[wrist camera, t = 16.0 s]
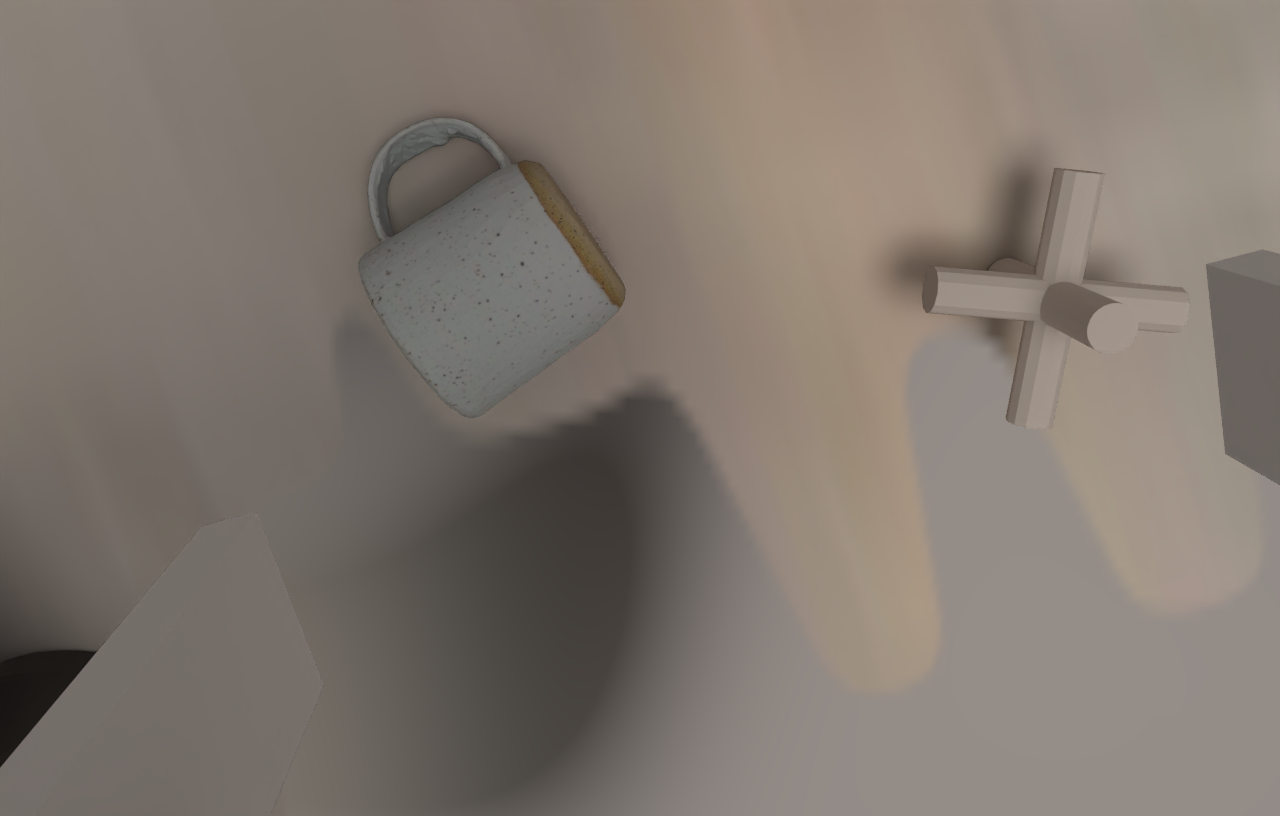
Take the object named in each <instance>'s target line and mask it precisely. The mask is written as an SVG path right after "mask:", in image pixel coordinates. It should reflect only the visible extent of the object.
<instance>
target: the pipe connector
mask: <svg viewBox="0 0 1280 816" xmlns="http://www.w3.org/2000/svg"><path fill="white" fill-rule="evenodd" d="M1104 175H1105V174H1103V173H1097V172H1090V171H1082V170H1072V169H1061V168H1054V172H1053V177H1052V183H1051V188H1050V193H1049V198H1048V203H1047V208H1046V213H1045V219H1044V224H1043V229H1042V234H1041V239H1040V244H1039V249H1038V255H1037V260H1036V265H1035V267H1033V266H1030V265H1028V264H1026V263H1023V262H1021V261H1018V260H1016V259H1012V258H1003V259H1000V260H998V261H996V262H995V263H993V264H992V265H991V266H990V268H989V270H988V271H982V270H971V269H959V268H947V267H935V266H934V267H930V268H929V270H928V272H927V273H926V276H925V280H924V283H923V291H922V302H923V308H924V310H925V312H926V313H935V314H948V315H960V316H972V317H984V318H997V319H1009V320H1021V321H1024V327H1023V332H1022V337H1021V342H1020V347H1019V352H1018V357H1017V363H1016V368H1015V373H1014V378H1013V383H1012V388H1011V393H1010V399H1009V404H1008V409H1007V414H1006V420H1007V421H1008V422H1010V423H1012V424H1014V425H1018V426H1022V427H1025V428H1031V429H1050V428H1052V426H1053V421H1054V417H1055V412H1056V407H1057V402H1058V397H1059V392H1060V388H1061V383H1062V378H1063V373H1064V368H1065V363H1066V359H1067V354H1068V349H1069V344H1070V339H1071V337H1072V338H1074V339H1076V340H1078V341H1080V342H1081V343H1083V344H1085V345H1087V346H1089V347H1091V348H1093V349H1095V350H1097V351H1099V352H1101V353H1104V354H1115V353H1118V352H1121V351H1123V350H1124V349H1126V348H1127V347H1128V346H1129V345H1130V344H1131V343H1132V342H1133V340H1134V339H1135V337H1136V334H1137V332H1138V330H1143V331H1155V332H1167V333H1176V332H1179V331H1180V330H1181V329H1182V328H1183V327H1184V326H1185V324H1186V321H1187V319H1188V316H1189V310H1190V301H1189V297H1188V293H1187V292H1186V291H1185V290H1184V289H1183V288H1181V287H1170V286H1158V285H1146V284H1134V283H1123V282H1111V281H1099V280H1088V279H1083V277H1084V272H1085V267H1086V262H1087V257H1088V253H1089V248H1090V243H1091V238H1092V233H1093V228H1094V224H1095V219H1096V214H1097V209H1098V204H1099V200H1100V195H1101V190H1102V185H1103V180H1104Z"/></svg>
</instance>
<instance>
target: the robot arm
mask: <svg viewBox="0 0 1280 816" xmlns="http://www.w3.org/2000/svg"><path fill="white" fill-rule="evenodd" d="M1206 269H1207V279H1208V289H1209V299H1210V308H1211V318H1212V328H1213V338H1214V347H1215V357H1216V367H1217V377H1218V387H1219V396H1220V406H1221V416H1222V426H1223V436H1224V445H1225V454H1227V455H1228V456H1230V457H1232V458H1234V459H1235V460H1237V461H1239V462H1241V463H1242V464H1244V465H1246V466H1247V467H1249V468H1251V469H1253V470H1254V471H1256V472H1258V473H1260V474H1261V475H1263V476H1265V477H1267V478H1268V479H1270V480H1272V481H1274V482H1276V483H1277V484H1279V485H1280V254H1278V253H1274V252H1270V251H1266V250H1259V251H1255V252H1251V253H1248V254H1244V255H1240V256H1236V257H1232V258H1228V259H1225V260H1221V261H1217V262H1213V263H1209V264H1206ZM323 687H324V685H323V683H322V680H321V678H320V675H319V672H318V670H317V667H316V664H315V662H314V659H313V657H312V654H311V652H310V649H309V646H308V644H307V641H306V639H305V636H304V633H303V631H302V628H301V626H300V623H299V620H298V618H297V615H296V613H295V610H294V608H293V605H292V603H291V600H290V597H289V595H288V592H287V589H286V587H285V584H284V582H283V579H282V577H281V574H280V571H279V569H278V566H277V564H276V561H275V558H274V556H273V553H272V551H271V548H270V545H269V543H268V540H267V538H266V535H265V533H264V530H263V527H262V525H261V522H260V520H259V517H258V514H257V512H254V513H250V514H246V515H243V516H239V517H235V518H231V519H227V520H223V521H220V522H216V523H212V524H208V525H204V526H202V527H201V528H200V529H199V530H198V532H197V533H196V534H195V535H194V536H193V538H192V539H191V540H190V541H189V542H188V543H187V545H186V546H185V547H184V548H183V549H182V551H181V552H180V553H179V554H178V555H177V557H176V558H175V559H174V560H173V561H172V563H171V564H170V565H169V566H168V567H167V569H166V570H165V571H164V572H163V573H162V575H161V576H160V577H159V578H158V579H157V581H156V582H155V583H154V584H153V585H152V587H151V588H150V589H149V590H148V591H147V593H146V594H145V595H144V596H143V597H142V599H141V600H140V601H139V602H138V603H137V605H136V606H135V607H134V608H133V609H132V611H131V612H130V613H129V614H128V615H127V617H126V618H125V619H124V620H123V621H122V623H121V624H120V625H119V626H118V627H117V629H116V630H115V631H114V632H113V633H112V635H111V636H110V637H109V638H108V639H107V641H106V642H105V643H104V644H103V645H102V646H101V648H100V649H99V650H98V651H97V652H96V654H95V653H86V652H71V651H60V652H44V653H37V654H31V655H26V656H22V657H18V658H14V659H11V660H7V661H5V662H2V663H0V816H270V815H271V812H272V810H273V807H274V805H275V802H276V800H277V798H278V795H279V793H280V790H281V788H282V786H283V783H284V781H285V778H286V776H287V773H288V771H289V769H290V766H291V764H292V761H293V759H294V756H295V754H296V751H297V749H298V747H299V744H300V742H301V740H302V737H303V735H304V732H305V730H306V728H307V725H308V723H309V720H310V718H311V715H312V713H313V711H314V708H315V706H316V703H317V701H318V699H319V696H320V694H321V691H322V689H323Z"/></svg>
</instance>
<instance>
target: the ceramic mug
mask: <svg viewBox="0 0 1280 816" xmlns="http://www.w3.org/2000/svg"><path fill="white" fill-rule="evenodd" d="M451 137H463V138H466V139H468V140H471V141H474V142H477V143H479V144H480V145H482V146H483V147H484V148H485V149H486V150H487V151H489V152H490V153H491V154H492V155H493V157H494V158H495V160H496V161H497V162H498V163H499V166H500V170H498V171H496V172H494V173H492V174H490V175H489V176H487V177H485V178H483V179H482V180H480V181H479V182H477V183H476V184H474V185H473V186H471V187H470V188H469V189H467V190H466V191H464V192H463V193H462V194H460V195H459V196H457V197H456V198H454V199H453V200H451V201H450V202H448V203H446V204H445V205H443V206H442V207H440V208H438V209H437V210H435V211H433V212H432V213H430V214H428V215H426V216H425V217H423V218H421V219H419V220H418V221H416V222H415V223H413V224H412V225H410V226H408V227H407V228H405V229H404V230H402V231H401V232H399V233H398V234H396V235H394V233H393V230H392V227H391V224H390V221H389V216H388V208H387V190H388V185H389V181H390V178H391V176H392V175H393V173H394V172H395V171H396V170H397V169H398V167H399V166H400V165H401V164H402V163H404V162H405V161H407V160H409V159H411V158H412V157H414V156H416V155H418V154H419V153H421V152H423V151H424V150H426V149H429V148H431V147H433V146H436V145H444V144H446V143H447V142H448V140H449V139H450V138H451ZM367 195H368V202H369V210H370V215H371V219H372V223H373V226H374V229H375V232H376V234H377V237H378V239H379V241H380V245H378V246H377V247H375V248H374V249H372V250H370V251H369V252H367V253H366V254H364V255H363V256H362V257H361V259H360V261H359V272H360V276H361V279H362V283H363V285H364V287H365V291H366V293H367V295H368V297H369V299H370V301H371V303H372V305H373V307H374V308H375V310H376V311H377V313H378V315H379V317H380V319H381V321H382V323H383V324H384V326H385V327H386V329H387V330H388V332H389V334H390V335H391V337H392V339H393V340H394V341H395V342H396V344H397V345H398V347H399V348H400V350H401V351H402V352H403V354H404V355H405V357H406V358H407V360H408V361H409V362H410V363H411V364H412V365H413V367H414V368H415V369H416V370H417V372H418V373H419V374H420V375H421V376H422V378H423V379H424V380H425V381H426V382H427V384H428V385H429V386H430V387H431V389H432V390H433V391H434V392H435V393H436V394H437V395H438V396H439V397H440V399H441V400H442V401H444V402H445V403H446V404H447V405H448V406H449V407H451V408H452V409H454V410H455V411H457V412H459V413H460V414H461V415H463V416H465V417H468V418H475V417H478V416H480V415H482V414H484V413H485V412H486V411H488V410H489V409H490V408H492V407H493V406H494V405H496V404H497V403H498V402H500V401H501V400H502V399H503V398H505V397H506V396H508V395H509V394H511V393H512V392H513V391H515V390H516V389H518V388H519V387H520V386H522V385H523V384H525V383H526V382H528V381H529V380H530V379H532V378H533V377H535V376H536V375H537V374H539V373H540V372H541V371H543V370H544V369H545V368H547V367H548V366H549V365H551V364H552V363H553V362H555V361H556V360H557V359H558V358H560V357H561V356H562V355H564V354H565V353H567V352H568V351H570V350H571V349H573V348H574V347H575V346H577V345H578V344H580V343H581V342H583V341H584V340H586V339H587V338H589V337H590V336H591V335H593V334H594V333H595V332H597V331H598V330H599V329H600V328H601V327H602V326H603V325H604V324H605V323H606V322H607V321H608V320H609V319H610V318H611V317H612V316H613V315H614V314H615V313H616V312H617V311H618V310H619V309H620V307H621V306H622V304H623V302H624V299H625V291H626V290H625V287H624V284H623V282H622V281H621V279H620V277H619V276H618V274H617V273H616V271H615V270H614V268H613V267H612V265H611V264H610V262H609V261H608V259H607V258H606V256H605V255H604V253H603V252H602V250H601V249H600V247H599V246H598V244H597V243H596V241H595V240H594V238H593V237H592V235H591V233H590V232H589V231H588V229H587V228H586V226H585V225H584V223H583V222H582V220H581V219H580V218H579V216H578V215H577V213H576V212H575V210H574V209H573V207H572V206H571V204H570V203H569V202H568V200H567V199H566V197H565V196H564V194H563V193H562V192H561V190H560V189H559V187H558V186H557V184H556V183H555V182H554V180H553V179H552V177H551V176H550V175H549V173H548V172H547V171H546V169H545V168H544V167H543V166H542V165H541V164H539V163H536V162H531V161H525V160H524V161H521V162H519V163H516V164H512V163H511V161H510V159H509V157H508V156H507V155H506V154H505V153H504V151H503V150H502V149H501V148H500V147H499V146H498V145H497V144H496V143H495V142H494V141H493V139H491V138H490V137H489V136H488V135H487V134H486V133H485V132H483V131H482V130H480V129H479V128H477V127H476V126H474V125H472V124H471V123H468V122H466V121H462V120H458V119H453V118H439V117H437V118H432V119H428V120H423V121H420V122H417V123H415V124H413V125H411V126H409V127H407V128H406V129H404V130H402V131H401V132H399V133H397V134H396V135H395V136H393V137H392V138H391V139H390V140H389V141H388V142H387V143H385V144H384V145H383V147H382V148H381V149H380V151H379V152H378V154H377V156H376V157H375V160H374V162H373V165H372V168H371V172H370V176H369V181H368V193H367Z"/></svg>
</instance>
